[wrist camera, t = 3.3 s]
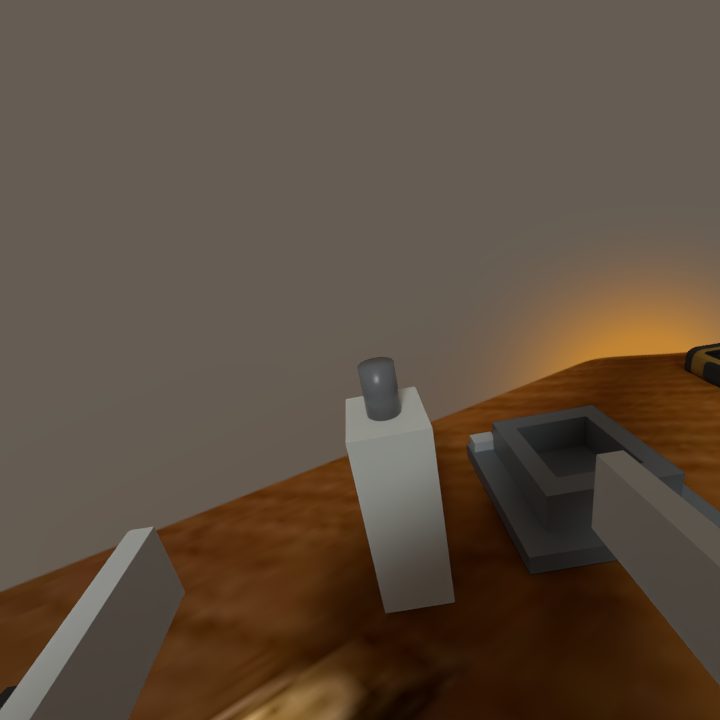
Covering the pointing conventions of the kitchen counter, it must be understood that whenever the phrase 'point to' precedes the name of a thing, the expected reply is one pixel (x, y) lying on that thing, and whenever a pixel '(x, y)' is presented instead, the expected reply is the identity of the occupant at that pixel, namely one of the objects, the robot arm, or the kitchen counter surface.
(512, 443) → the socket
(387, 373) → the plug
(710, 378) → the electronic device
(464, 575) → the kitchen counter surface
